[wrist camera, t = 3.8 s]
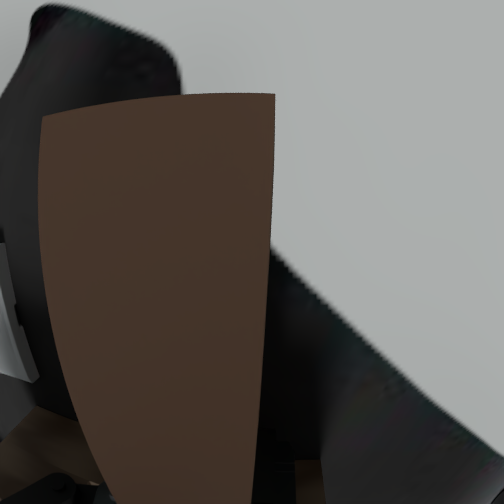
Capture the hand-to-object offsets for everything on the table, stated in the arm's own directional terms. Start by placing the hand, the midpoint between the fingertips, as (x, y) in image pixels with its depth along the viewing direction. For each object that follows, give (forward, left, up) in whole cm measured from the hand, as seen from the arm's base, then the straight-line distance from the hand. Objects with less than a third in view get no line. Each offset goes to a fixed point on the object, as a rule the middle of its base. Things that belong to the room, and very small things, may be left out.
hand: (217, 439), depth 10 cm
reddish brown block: (0, -4, -3) cm, 5 cm away
